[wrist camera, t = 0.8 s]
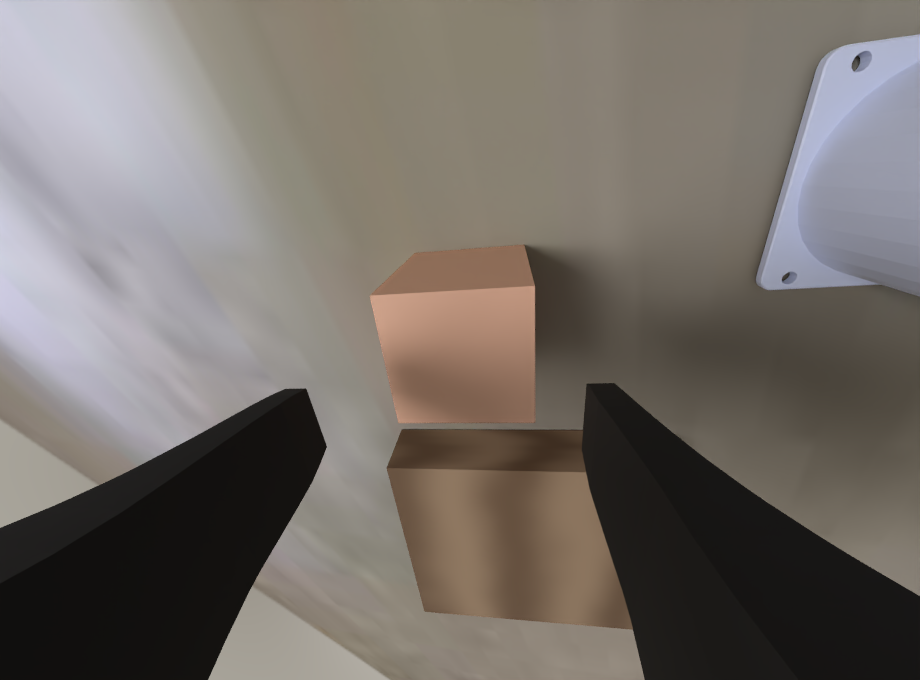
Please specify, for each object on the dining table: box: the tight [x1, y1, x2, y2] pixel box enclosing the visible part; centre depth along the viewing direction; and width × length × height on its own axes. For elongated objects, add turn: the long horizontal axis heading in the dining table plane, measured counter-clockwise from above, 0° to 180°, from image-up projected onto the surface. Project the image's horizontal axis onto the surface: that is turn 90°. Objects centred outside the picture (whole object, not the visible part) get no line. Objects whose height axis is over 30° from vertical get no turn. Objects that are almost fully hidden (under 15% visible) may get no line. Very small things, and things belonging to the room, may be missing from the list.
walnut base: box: [387, 430, 633, 629], centre depth 21 cm, size 14×14×3 cm
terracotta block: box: [370, 245, 535, 423], centre depth 14 cm, size 5×5×6 cm
